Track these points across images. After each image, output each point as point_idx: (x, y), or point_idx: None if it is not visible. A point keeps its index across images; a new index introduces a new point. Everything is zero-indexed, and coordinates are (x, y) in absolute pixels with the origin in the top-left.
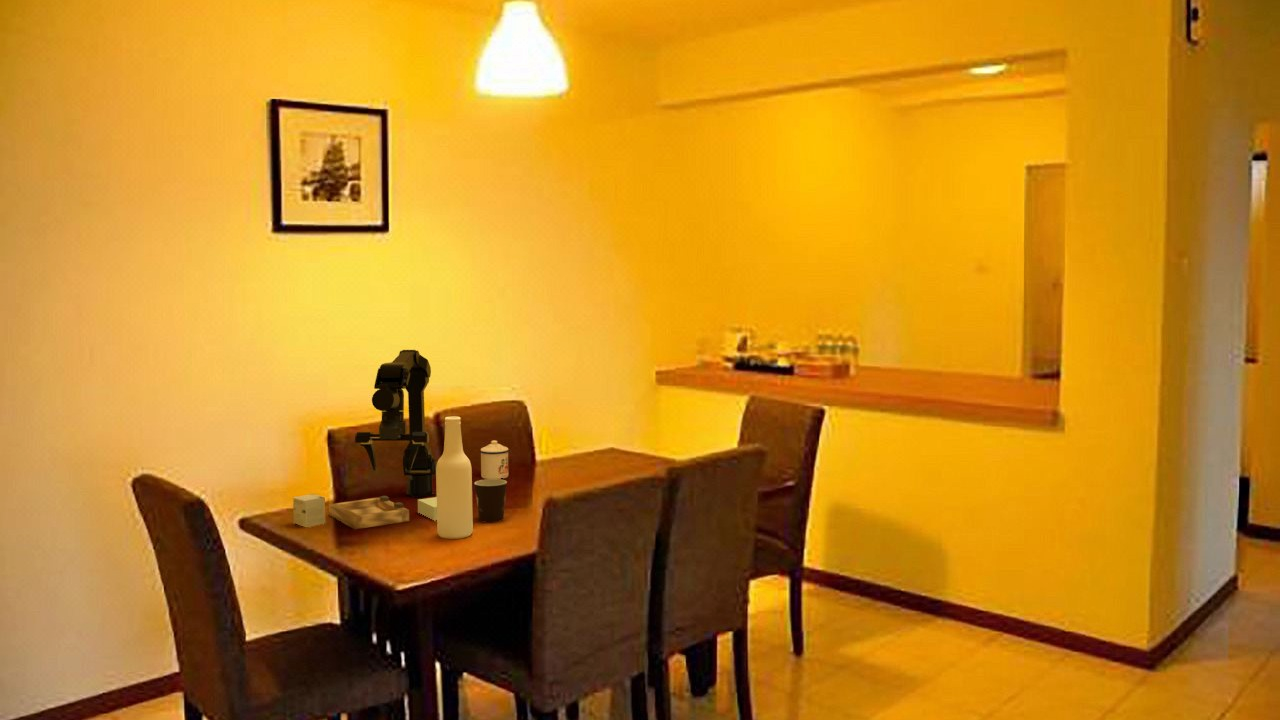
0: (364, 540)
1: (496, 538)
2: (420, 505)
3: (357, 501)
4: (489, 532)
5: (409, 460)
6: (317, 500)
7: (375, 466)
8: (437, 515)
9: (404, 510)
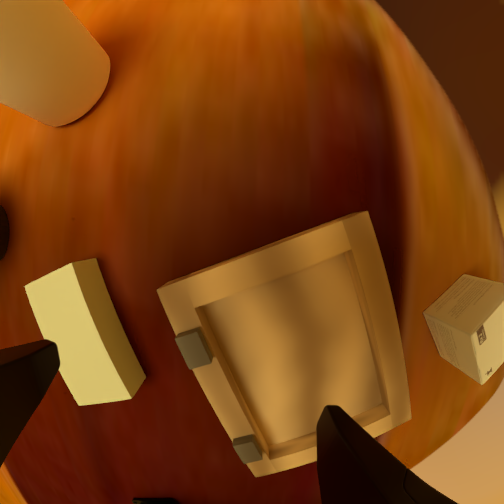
0: (316, 75)
1: None
2: (126, 371)
3: None
4: None
5: (2, 362)
6: (486, 313)
7: (322, 441)
8: (88, 43)
9: (172, 283)
